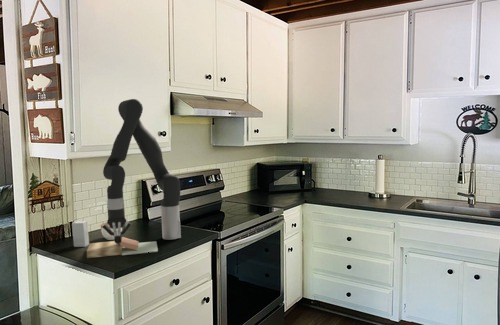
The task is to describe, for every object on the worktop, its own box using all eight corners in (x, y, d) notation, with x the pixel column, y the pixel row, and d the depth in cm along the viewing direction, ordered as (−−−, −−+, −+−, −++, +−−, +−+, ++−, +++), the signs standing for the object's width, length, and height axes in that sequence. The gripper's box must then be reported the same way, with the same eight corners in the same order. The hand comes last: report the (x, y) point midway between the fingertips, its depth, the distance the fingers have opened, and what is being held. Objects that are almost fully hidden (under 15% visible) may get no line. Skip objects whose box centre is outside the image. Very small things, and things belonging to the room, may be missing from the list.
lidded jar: (124, 234, 214) (123, 217, 213) (121, 240, 204) (120, 222, 203) (103, 236, 213) (102, 219, 212) (99, 241, 202) (98, 223, 201)
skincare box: (89, 244, 198) (88, 220, 197) (85, 247, 193) (83, 223, 192) (77, 244, 198) (76, 220, 197) (73, 247, 194) (71, 223, 193)
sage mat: (156, 242, 199) (156, 241, 199) (157, 251, 184) (157, 250, 184) (123, 245, 195) (123, 244, 195) (121, 255, 180) (121, 254, 179)
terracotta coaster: (136, 245, 193) (138, 241, 193) (136, 250, 185) (138, 245, 185) (120, 241, 190) (122, 236, 190) (119, 245, 183) (121, 241, 183)
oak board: (123, 246, 193) (122, 240, 193) (122, 254, 181) (121, 248, 181) (90, 249, 189) (89, 243, 189) (86, 258, 177) (86, 251, 177)
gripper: (130, 204, 190) (132, 239, 192) (101, 206, 187) (103, 242, 188) (130, 207, 183) (132, 244, 185) (100, 210, 179) (102, 247, 181)
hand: (117, 243), depth 186 cm, fingers closed
